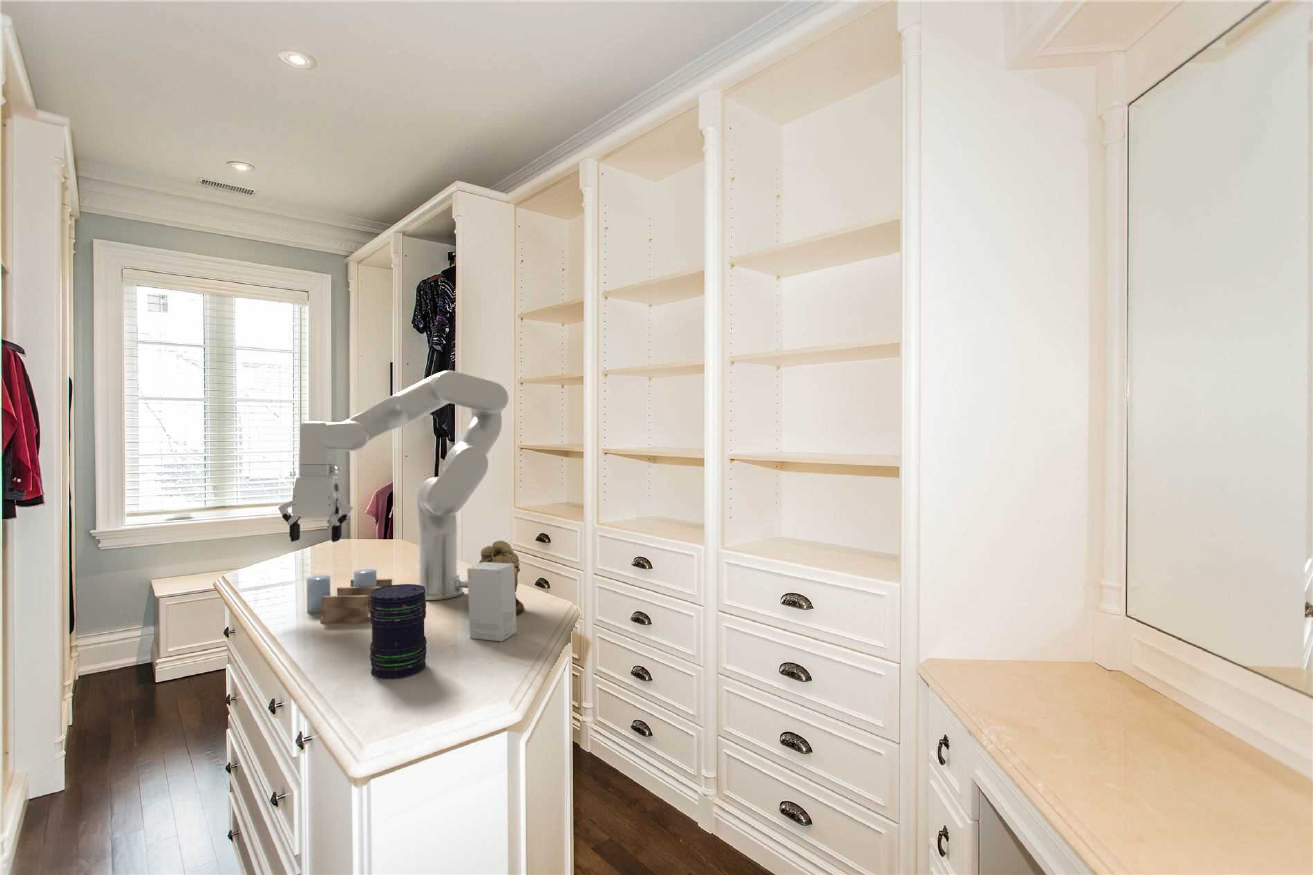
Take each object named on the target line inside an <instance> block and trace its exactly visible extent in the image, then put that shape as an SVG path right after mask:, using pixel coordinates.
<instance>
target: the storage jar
mask: <svg viewBox="0 0 1313 875" xmlns="http://www.w3.org/2000/svg"><path fill="white" fill-rule="evenodd" d="M370 598H371V601H370V605H371V606H370V622H369V623H370V624H371V640H372V641H371V643H370V644H369V646H370V647H369V650H370V655H369V660H370V666H371V669H370V675H371V676H372V677H374V678H376V679H378V680H397V679H398V680H399V679H405V678H409V677H413V676H416V675H418V674H421V673H422V672H424V671H425V669H426V668H425V667H427V661H426V658H427V656H426V655H427V642H428V640H427V637H426V636H425V620H426V616H427V609H426V608H427V600H425V587H424V586H421V585H420V584H415V583H413V584H412V583H404V584H403V583H399V584H392V585H390V586H385V587H381V588H377V589H375V590H373V591H371V593H370Z"/></svg>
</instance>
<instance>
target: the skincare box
mask: <svg viewBox="0 0 1313 875" xmlns="http://www.w3.org/2000/svg"><path fill="white" fill-rule="evenodd" d="M466 572H467V580H468V588H467V591H468V592H467V593H468V615H469V616H468V617H469V620H468V621H469V639H475V640H483V641H495V642H504V641H505V640H507V639H509V638H511V637H512V636H513V635H515V634H516V633H517V628H518V627H517V616H516V601H515V594H516V593H515V574H514V564H511V563H491V562H482V563H480V564H479V563H478V564H475V565H473V566H470V567H467V570H466Z"/></svg>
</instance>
